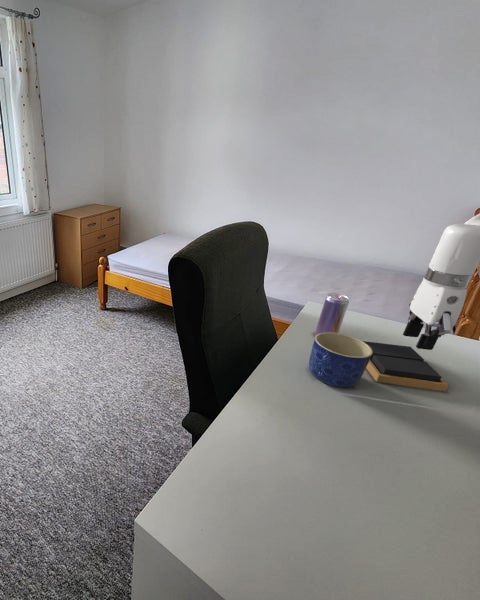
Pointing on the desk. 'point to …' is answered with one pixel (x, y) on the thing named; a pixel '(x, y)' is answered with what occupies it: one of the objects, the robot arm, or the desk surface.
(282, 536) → the desk surface
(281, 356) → the desk surface
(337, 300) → the beverage can
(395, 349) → the pad
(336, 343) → the planter
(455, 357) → the desk surface
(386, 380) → the frame
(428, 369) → the loose pad
